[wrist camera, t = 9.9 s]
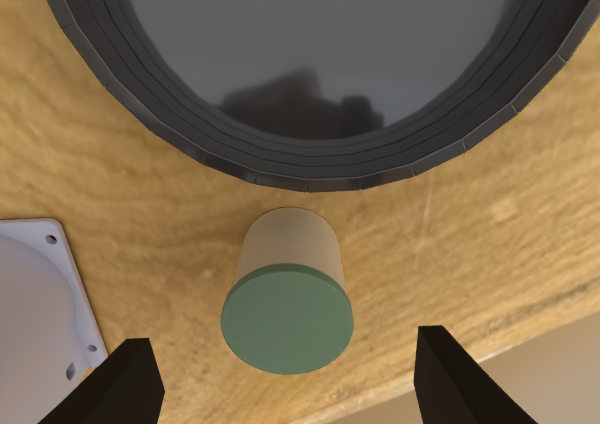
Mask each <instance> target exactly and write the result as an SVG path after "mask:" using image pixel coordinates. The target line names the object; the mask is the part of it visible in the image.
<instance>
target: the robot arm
mask: <svg viewBox="0 0 600 424" xmlns="http://www.w3.org/2000/svg"><path fill="white" fill-rule="evenodd" d="M50 235H52V236H54V237H55V238H56V240H54V239H52V238H51V236H50ZM93 345H94V346H93ZM95 346H96V347H95ZM92 367H97V368H96V369H95V370H94V371H93V372H92V373H91V374H90V375H89V376H88V377H87V378H86V379H85V380H84V381H83V382H81V380H82V379H83V377H84V375H85V374H86V372H87V370H88V369H89V368H92ZM80 382H81V383H80ZM79 383H80V384H79ZM414 386H415V391H416V395H417V400H418V403H419V408H420V412H421V416H422V420H423V424H538V423H537V422H535V421H534V420H533V419H532V418H531V417H530V416H529V415H528V414H527V413H526V412H525V411H524V410H523V409H522V408H521V407H520V406H518V405H517V404H516V403H515V402H514V401H513V400H512V399H511V398H510V397H509V396H508V395H507V394H506V393H505V392H504V391H503V390H502V389H501V388H500V387H499V386H498V385H497V384H496V383H495V382H494V381H493V380H492V379H491V378H490V377H489V375H488V374H487V373H486V372H485V371H484V370H483V369H482V368H481V367H480V366H479V365H478V364H477V363H476V362H475V361H474V360H473V358H472V357H471V356H470V355H469V354H468V353H467V352H466V351H465V350H464V349H463V347H462V346H461V345H460V344H459V343H458V342H457V341H456V340H455V339H454V337H453V336H452V335H451V334H450V333H449V332H448V331H447V330H446V329H445V328H444V327H443V326H442V325H438V326H419V327H418V338H417V349H416V360H415V371H414ZM164 394H165V390H164V386H163V383H162V380H161V376H160V373H159V370H158V366H157V363H156V360H155V356H154V353H153V350H152V346H151V343H150V340H149V338H134V339H126V340H125V341H124V342H123V343H122V344H121V345H120V346H119V347H117V348H116V349H115V350H114V351H113V352H112V353H111V354H110V355H109V356H108V354H107V351H106V349H105V346H104V343H103V340H102V337H101V335H100V332H99V329H98V326H97V323H96V321H95V318H94V315H93V312H92V309H91V307H90V304H89V301H88V298H87V295H86V293H85V290H84V287H83V284H82V281H81V279H80V276H79V273H78V270H77V267H76V265H75V262H74V259H73V256H72V254H71V251H70V248H69V245H68V242H67V240H66V237H65V234H64V231H63V228H62V226H61V224H60V223H59V222H58V221H57V220H55V219H53V218H36V219H14V220H0V424H157V422H158V418H159V414H160V410H161V406H162V402H163V398H164Z"/></svg>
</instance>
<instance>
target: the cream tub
mask: <svg viewBox="0 0 600 424" xmlns="http://www.w3.org/2000/svg"><path fill="white" fill-rule="evenodd" d="M353 326H354V321H353V313H352V308H351V304H350V301H349V298H348V296H347V293H346V287H345V280H344V274H343V268H342V262H341V256H340V250H339V244H338V240H337V236H336V234H335V232H334V230H333V228H332V227H331V226H330V225H329V223H328V222H327V221H326V220H325V219H323V218H322V217H321V216H319V215H317V214H316V213H314V212H311V211H309V210H306V209H302V208H295V207H286V208H279V209H275V210H272V211H270V212H267V213H266V214H264V215H262V216H261V217H259V218H258V219H257V220H256V221H255V222H254V223H253V224H252V225H251V226H250V228H249V230H248V231H247V233H246V236H245V239H244V243H243V246H242V250H241V254H240V258H239V261H238V265H237V269H236V272H235V276H234V280H233V283H232V287H231V290H230V292H229V293H228V295H227V297H226V300H225V303H224V306H223V310H222V314H221V329H222V333H223V336H224V338H225V341H226V343H227V344H228V346H229V347H230V349H231V350H232V351H233V352H234V354H236V355H237V356H238V357H239V358H240V359H241V360H243V361H244V362H246V363H247V364H249V365H251V366H253V367H255V368H257V369H260V370H263V371H266V372H270V373H275V374H283V375H293V374H302V373H307V372H311V371H314V370H317V369H320V368H322V367H324V366H326V365H328V364H329V363H331V362H332V361H334V360H335V359H336V358H337V357H338V356H339V355H340V354H341V353H342V352H343V351H344V350H345V348H346V347H347V345H348V343H349V341H350V339H351V336H352V333H353Z"/></svg>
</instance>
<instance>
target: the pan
mask: <svg viewBox="0 0 600 424" xmlns="http://www.w3.org/2000/svg"><path fill="white" fill-rule="evenodd" d="M47 2H48V4H49V6H50V8H51V10H52V12H53V14H54V16H55V18H56V20H57V22H58V24H59V26H60V28H61V29H62V30H63V32H64V33H65V35H66V36H67V37H68V39H69V40H70V42H71V43H72V44H73V46H74V47H75V48H76V50H77V51H78V52H79V54H80V55H81V57H82V58H83V59H84V61H85V62H86V63H87V65H88V66H89V67H90V69H91V70H92V72H93V73H94V74H95V76H96V77H97V78H98V80H99V81H100V82H101V84H102V85H103V86H104V87H105V88H106V90H108V91H109V92H110V93H111V94H112V95H113V96H114V97H115V98H116V99H117V100H118V101H119V102H120V103H121V104H122V105H123V106H124V107H126V108H127V109H128V110H129V111H130V112H131V113H132V114H133V115H134V116H135V117H136V118H137V119H138V120H139V121H140V122H141V123H143V124H144V125H145V126H146V127H147V128H148V129H149V130H150V131H153V133H154V134H155V135H157V136H159V137H160V138H162V139H163V140H165V141H166V142H168V143H170V144H171V145H173V146H174V147H176V148H177V149H179V150H181V151H182V152H184V153H185V154H187V155H188V156H190V157H192V158H193V159H195V160H196V161H198V162H199V163H202V164H203V165H205V166H208V167H210V168H213V169H216V170H218V171H221V172H223V173H226V174H229V175H231V176H234V177H236V178H239V179H242V180H244V181H247V182H249V183H252V184H254V183H255V184H257V185H263V186H269V187H275V188H281V189H287V190H294V191H300V192H309V193H312V192H334V191H355V190H360V189H361V190H364V189H368V188H372V187H376V186H380V185H383V184H387V183H391V182H395V181H399V180H403V179H407V178H411V177H414V175H415V176H417V175H419V174H421V173H423V172H425V171H427V170H429V169H431V168H434V167H436V166H438V165H440V164H442V163H444V162H446V161H448V160H450V159H452V158H454V157H457V156H459V155H461V154H463V153H465V152H466V151H467V150H470V149H471V148H473V147H474V146H475V145H477V144H478V143H479V142H481V141H482V140H484V139H485V138H486V137H488V136H489V135H490V134H492V133H493V132H494V131H496V130H497V129H499V128H500V127H501V126H503V125H504V124H505V123H507V122H508V121H509V120H511V119H512V118H513V117H515V116H516V115H517V114H518V112H521V111H522V110H523V109H524V108H525V107H526V106H527V105H528V104H529V102H530V101H531V100H532V99H533V98H534V97H535V96H536V95H537V94H538V93H539V92H540V91H541V90H542V89H543V88H544V87H545V86H546V85H547V84H548V83H549V81H550V80H551V79H552V78H553V77H554V76H555V75H556V74H557V73H558V72H559V71H560V70H561V69H562V68H563V67H564V66H565V65H566V63H567V62H566V61H569V60H570V58H571V57H572V55H573V54H574V52H575V51H576V49H577V48H578V46H579V45H580V43H581V42H582V40H583V39H584V37H585V36H586V34H587V33H588V31H589V30H590V28H591V27H592V26H593V24H594V23H595V21H596V20H597V18H598V17H599V15H600V0H47Z"/></svg>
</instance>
